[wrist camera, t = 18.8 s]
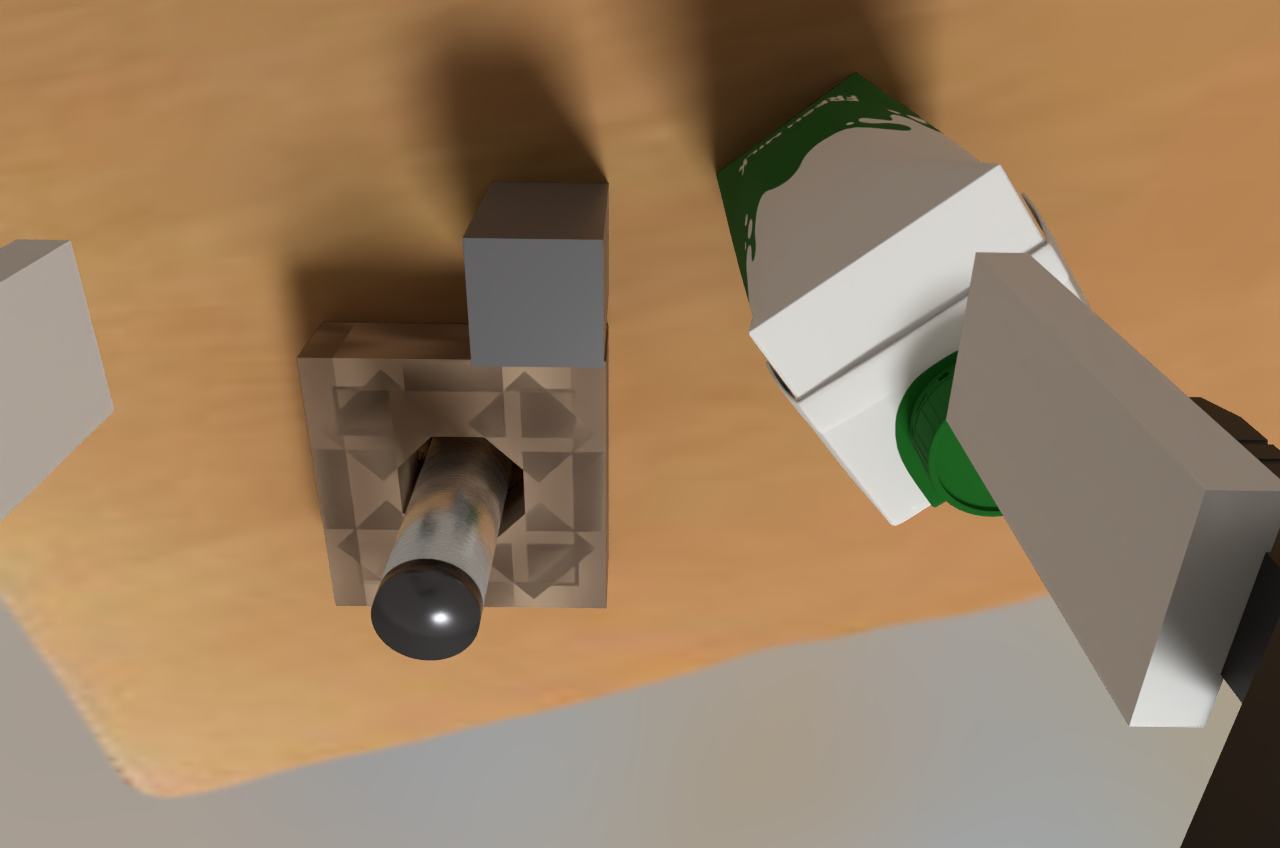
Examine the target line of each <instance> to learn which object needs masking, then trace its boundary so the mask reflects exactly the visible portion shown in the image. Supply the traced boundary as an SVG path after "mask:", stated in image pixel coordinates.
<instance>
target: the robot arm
mask: <svg viewBox="0 0 1280 848" xmlns="http://www.w3.org/2000/svg"><path fill="white" fill-rule="evenodd" d="M113 411H114V408H113V404H112V400H111V396H110V392H109V388H108V384H107V380H106V376H105V373H104V369H103V365H102V361H101V357H100V353H99V349H98V345H97V341H96V338H95V334H94V330H93V326H92V322H91V318H90V314H89V310H88V306H87V303H86V299H85V295H84V291H83V287H82V283H81V279H80V275H79V271H78V268H77V264H76V260H75V256H74V252H73V248H72V244H71V240H15V241H13V242H12V243H10V244H8V245H6V246H4V247H3V248H1V249H0V522H1V521H2V520H3V519H4V518H5V517H6V516H7V515H8V514H9V513H10V512H11V511H12V510H13V509H14V508H15V507H16V506H17V505H18V504H19V503H20V502H21V501H22V500H23V499H24V498H25V497H26V496H27V495H28V494H29V493H30V492H31V491H32V490H33V489H35V488H36V487H37V486H38V485H39V484H40V483H41V482H42V481H43V480H44V479H45V478H46V477H47V476H48V475H49V474H50V473H51V472H52V471H53V470H54V469H55V468H56V467H57V466H58V465H59V464H60V463H61V462H62V461H63V460H64V459H65V458H66V457H67V456H68V455H69V454H70V453H71V452H72V451H73V450H74V449H75V448H76V447H77V446H78V445H79V444H80V443H81V442H83V441H84V440H85V439H86V438H87V437H88V436H89V435H90V434H91V433H92V432H93V431H94V430H95V429H96V428H97V427H98V426H99V425H100V424H101V423H102V422H103V421H104V420H105V419H106V418H107V417H108V416H109V415H110V414H111V413H112V412H113ZM946 421H947V422H948V424H949V426H950V428H951V429H952V431H953V433H954V434H955V436H956V438H957V439H958V441H959V443H960V444H961V446H962V448H963V449H964V451H965V453H966V454H967V456H968V458H969V459H970V461H971V463H972V464H973V466H974V468H975V469H976V471H977V473H978V474H979V476H980V478H981V479H982V481H983V483H984V484H985V486H986V488H987V489H988V491H989V493H990V494H991V496H992V498H993V499H994V501H995V503H996V505H997V506H998V508H999V510H1000V511H1001V513H1002V515H1003V516H1004V518H1005V520H1006V521H1007V523H1008V525H1009V526H1010V528H1011V530H1012V531H1013V533H1014V535H1015V536H1016V538H1017V540H1018V541H1019V543H1020V545H1021V546H1022V548H1023V550H1024V551H1025V553H1026V555H1027V556H1028V558H1029V560H1030V561H1031V563H1032V565H1033V566H1034V568H1035V570H1036V571H1037V573H1038V575H1039V576H1040V578H1041V580H1042V581H1043V583H1044V585H1045V587H1046V588H1047V590H1048V592H1049V593H1050V595H1051V597H1052V598H1053V600H1054V602H1055V603H1056V605H1057V606H1058V608H1059V610H1060V611H1061V613H1062V615H1063V617H1064V618H1065V620H1066V622H1067V623H1068V625H1069V627H1070V628H1071V630H1072V632H1073V633H1074V635H1075V637H1076V638H1077V640H1078V642H1079V643H1080V645H1081V647H1082V648H1083V650H1084V652H1085V653H1086V655H1087V657H1088V658H1089V660H1090V662H1091V663H1092V665H1093V667H1094V668H1095V670H1096V672H1097V673H1098V675H1099V677H1100V678H1101V680H1102V682H1103V684H1104V685H1105V687H1106V689H1107V690H1108V692H1109V694H1110V695H1111V697H1112V699H1113V700H1114V702H1115V704H1116V705H1117V707H1118V709H1119V710H1120V712H1121V714H1122V715H1123V717H1124V719H1125V720H1126V722H1127V724H1128V725H1129V726H1139V727H1142V726H1143V727H1144V726H1145V727H1205V726H1206V724H1207V721H1208V718H1209V716H1210V713H1211V710H1212V708H1213V705H1214V702H1215V700H1216V697H1217V694H1218V692H1219V689H1220V686H1221V684H1222V681H1223V678H1224V680H1225V681H1226V682H1227V684H1228V685H1229V686H1230V687H1231V689H1232V690H1233V691H1234V693H1235V694H1236V696H1237V697H1238V698H1239V699H1240V701H1241V702H1242V705H1241V708H1240V710H1239V712H1238V715H1237V717H1236V719H1235V722H1234V724H1233V726H1232V729H1231V731H1230V733H1229V736H1228V738H1227V741H1226V743H1225V745H1224V747H1223V750H1222V752H1221V754H1220V757H1219V759H1218V761H1217V763H1216V766H1215V768H1214V770H1213V773H1212V775H1211V777H1210V780H1209V782H1208V784H1207V787H1206V789H1205V791H1204V794H1203V796H1202V798H1201V801H1200V803H1199V805H1198V808H1197V810H1196V812H1195V815H1194V817H1193V819H1192V822H1191V824H1190V826H1189V828H1188V831H1187V833H1186V836H1185V838H1184V840H1183V842H1182V845H1181V847H1180V848H1280V450H1279V449H1278V448H1276V447H1275V446H1274V445H1268V443H1267V442H1268V440H1267V439H1266V438H1265V437H1263V436H1262V435H1261V434H1260V433H1259V432H1258V431H1256V430H1255V429H1254V428H1253V427H1252V426H1251V425H1249V424H1248V423H1247V422H1246V421H1245V420H1244V419H1242V418H1241V417H1239V416H1237V415H1235V414H1233V413H1231V412H1229V411H1227V410H1225V409H1223V408H1221V407H1219V406H1217V405H1215V404H1213V403H1211V402H1209V401H1207V400H1205V399H1203V398H1201V397H1188V396H1187V395H1186V394H1184V393H1183V392H1182V391H1181V390H1180V389H1179V388H1178V387H1177V386H1176V385H1174V384H1173V383H1172V382H1171V381H1170V380H1169V379H1168V378H1167V377H1166V376H1164V375H1163V374H1162V373H1161V372H1160V371H1159V370H1158V369H1157V368H1156V367H1154V366H1153V365H1152V364H1151V363H1150V362H1149V361H1148V360H1147V359H1146V358H1144V357H1143V356H1142V355H1141V354H1140V353H1139V352H1138V351H1137V350H1136V349H1134V348H1133V347H1132V346H1131V345H1130V344H1129V343H1128V342H1127V341H1125V340H1124V339H1123V338H1122V337H1121V336H1120V335H1119V334H1118V333H1117V332H1115V331H1114V330H1113V329H1112V328H1111V327H1110V326H1109V325H1108V324H1107V323H1105V322H1104V321H1103V320H1102V319H1101V318H1100V317H1099V316H1098V315H1097V314H1095V313H1094V312H1093V311H1092V310H1091V309H1090V308H1089V307H1088V306H1087V305H1085V304H1084V303H1083V302H1082V301H1081V300H1080V299H1079V298H1078V297H1077V296H1075V295H1074V294H1073V293H1072V292H1071V291H1070V290H1069V289H1068V288H1067V287H1065V286H1064V285H1063V284H1062V283H1061V282H1060V281H1059V280H1058V279H1056V278H1055V277H1054V276H1053V275H1052V274H1051V273H1050V272H1049V271H1048V270H1046V269H1045V268H1044V267H1043V266H1042V265H1041V264H1040V263H1039V262H1038V261H1036V260H1035V259H1034V258H1033V257H1032V256H1031V255H1030V254H1029V253H997V252H976V254H975V259H974V265H973V270H972V276H971V282H970V287H969V293H968V299H967V304H966V310H965V316H964V321H963V327H962V333H961V338H960V344H959V349H958V355H957V361H956V366H955V372H954V378H953V383H952V389H951V395H950V400H949V406H948V412H947V417H946Z"/></svg>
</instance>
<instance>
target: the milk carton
mask: <svg viewBox="0 0 1280 848" xmlns="http://www.w3.org/2000/svg"><path fill="white" fill-rule="evenodd" d="M716 176H717V180H718V184H719V188H720V192H721V196H722V200H723V204H724V208H725V212H726V217H727V221H728V225H729V229H730V233H731V237H732V241H733V245H734V249H735V253H736V257H737V261H738V265H739V269H740V272H741V276H742V279H743V283H744V286H745V290H746V294H747V297H748V301H749V304H750V308H751V311H752V315H753V318H752V321H751V325H750V329H749V335H750V336H751V338H752V339H753V341H754V342H755V343H756V345H757V346H758V347H759V349H760V350H761V351H762V353H763V354H764V355H765V357H766V358H767V359H768V361H769V362H770V363H771V365H772V366H773V367H774V369H775V370H776V371H777V373H778V374H779V375H780V377H781V378H782V379H783V381H784V382H785V383H786V385H787V386H788V387H789V389H790V390H791V391H792V393H793V394H794V395H795V397H796V398H797V399H798V401H797V400H796V399H795V397H794V396H793V394H792V393H791V391H790V390H789V389H788V387H787V386H786V385H785V383H784V382H783V381H782V379H781V378H780V377H779V375H778V374H777V373H776V371H775V370H774V369H773V367H772V366H771V365H770V364H769V362H768V361H766V364H767V367H768V369H769V371H770V373H771V375H772V376H773V378H774V379H775V381H776V382H777V384H778V385H779V387H780V388H781V390H782V391H783V392H784V394H785V395H786V397H787V398H788V399H789V400H790V402H791V403H792V404H793V406H794V407H795V408H796V409H797V411H798V412H799V413H800V415H801V416H802V417H803V418H804V419H805V420H806V421H807V422H808V423H809V425H810V426H811V427H812V429H813V430H814V431H815V432H816V434H817V435H818V436H819V438H820V439H821V440H822V441H823V443H824V444H825V445H826V447H827V448H828V449H829V450H830V452H831V453H832V454H833V456H834V457H835V458H836V459H837V461H838V462H839V463H840V464H841V466H842V467H843V468H844V469H845V471H846V472H847V473H848V474H849V476H850V477H851V478H852V479H853V480H854V482H855V483H856V484H857V485H858V486H859V487H860V489H861V490H862V491H863V492H864V493H865V494H866V496H867V497H868V498H869V499H870V500H871V502H872V503H873V504H874V505H875V506H876V507H877V509H878V510H879V511H880V512H881V513H882V514H883V516H884V517H885V518H886V519H887V520H888V521H889V523H890V524H891V525H894V526H895V525H898V524H900V523H902V522H904V521H906V520H907V519H909V518H911V517H912V516H914V515H915V514H917V513H919V512H920V511H922V510H923V509H925V508H926V507H928V506H930V505H932V506H933V507H937V506H939V505H940V504H942V503H944V502H946V501H947V502H948V503H949V504H950V505H952V506H954V507H955V508H957V509H959V510H961V511H964V512H967V513H970V514H974V515H979V516H988V517H995V516H1003V515H1002V513H1001V511H1000V510H999V508H998V506H997V505H996V503H995V501H994V499H993V498H992V496H991V494H990V493H989V491H988V489H987V488H986V486H985V484H984V483H983V481H982V479H981V478H980V476H979V474H978V473H977V471H976V469H975V468H974V466H973V464H972V463H971V461H970V459H969V458H968V456H967V454H966V453H965V451H964V449H963V448H962V446H961V444H960V443H959V441H958V439H957V438H956V436H955V434H954V433H953V431H952V429H951V428H950V426H949V424H948V422H947V421H946V417H947V412H948V406H949V400H950V395H951V389H952V383H953V378H954V372H955V366H956V361H957V355H958V349H959V344H960V338H961V333H962V327H963V321H964V316H965V310H966V304H967V299H968V293H969V287H970V282H971V276H972V270H973V265H974V259H975V254H976V252H997V253H1029V254H1030V255H1031V256H1032V257H1033V258H1034V259H1035V260H1036V261H1038V262H1039V263H1040V264H1041V265H1042V266H1043V267H1044V268H1045V269H1046V270H1048V271H1049V272H1050V273H1051V274H1052V275H1053V276H1054V277H1055V278H1056V279H1058V280H1059V281H1060V282H1061V283H1062V284H1063V285H1064V286H1065V287H1067V288H1068V289H1069V290H1070V291H1071V292H1072V293H1073V294H1074V295H1075V296H1077V297H1078V298H1079V299H1080V300H1081V301H1082V302H1083V303H1084V304H1085V305H1087V306H1088V307H1089V308H1090V309H1091V307H1090V305H1089V303H1088V301H1087V299H1086V298H1085V296H1084V294H1083V292H1082V290H1081V289H1080V287H1079V285H1078V283H1077V282H1076V280H1075V278H1074V276H1073V274H1072V273H1071V271H1070V269H1069V267H1068V265H1067V264H1066V262H1065V260H1064V258H1063V256H1062V254H1061V252H1060V250H1059V248H1058V246H1057V243H1056V241H1055V239H1054V238H1053V236H1052V234H1051V232H1050V230H1049V229H1048V227H1047V225H1046V223H1045V222H1044V220H1043V218H1042V217H1041V215H1040V213H1039V212H1038V210H1037V209H1036V207H1035V206H1034V204H1033V203H1032V202H1031V200H1030V199H1029V198H1028V197H1027V196H1026V195H1025V194H1024V193H1021V195H1022V196H1023V198H1024V200H1025V202H1026V203H1027V205H1028V207H1029V209H1030V210H1031V212H1032V214H1033V216H1034V217H1035V219H1036V221H1037V223H1038V224H1039V226H1040V228H1041V230H1042V231H1043V233H1044V235H1045V238H1046V241H1047V243H1046V242H1045V240H1044V238H1043V236H1042V235H1041V233H1040V231H1039V229H1038V228H1037V226H1036V224H1035V223H1034V221H1033V219H1032V217H1031V216H1030V214H1029V212H1028V210H1027V209H1026V207H1025V205H1024V204H1023V202H1022V200H1021V198H1020V197H1019V195H1018V193H1017V191H1016V190H1015V188H1014V186H1013V185H1012V183H1011V181H1010V179H1009V178H1008V176H1007V174H1006V173H1005V171H1004V169H1003V168H1002V166H1001V165H1000V164H994V163H981V162H980V161H979V160H977V159H976V158H975V157H973V156H972V155H971V154H969V153H968V152H967V151H965V150H964V149H963V148H961V147H960V146H959V145H957V144H956V143H955V142H953V141H952V140H951V139H949V138H948V137H947V136H945V135H944V134H943V133H941V132H940V131H939V130H937V129H936V128H934V127H933V126H932V125H930V124H929V123H927V122H926V121H924V120H923V119H922V118H920V117H919V116H918V115H916V114H915V113H913V112H912V111H911V110H909V109H908V108H906V107H905V106H904V105H902V104H901V103H899V102H898V101H896V100H895V99H893V98H892V97H891V96H889V95H888V94H886V93H885V92H883V91H882V90H880V89H879V88H877V87H876V86H875V85H873V84H872V83H870V82H869V81H867V80H866V79H865V78H863V77H862V76H861V75H859V74H858V73H857V72H855V73H853V74H852V75H851V76H849V77H848V78H846V79H845V80H844V81H842V82H841V83H840V84H838V85H837V86H836V87H834V88H833V89H831V90H830V91H829V92H827V93H826V94H825V95H823V96H822V97H821V98H819V99H818V100H816V101H815V102H814V103H812V104H811V105H810V106H808V107H807V108H805V109H804V110H803V111H801V112H800V113H799V114H797V115H796V116H795V117H793V118H792V119H790V120H789V121H788V122H786V123H785V124H784V125H782V126H781V127H780V128H778V129H777V130H775V131H774V132H773V133H771V134H770V135H769V136H767V137H766V138H765V139H763V140H762V141H760V142H759V143H758V144H756V145H755V146H754V147H752V148H751V149H750V150H748V151H747V152H745V153H744V154H743V155H741V156H740V157H739V158H737V159H736V160H734V161H733V162H732V163H730V164H729V165H728V166H726V167H725V168H724V169H722V170H721V171H719V172H718V173H717V174H716ZM1091 310H1092V309H1091Z"/></svg>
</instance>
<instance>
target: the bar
mask: <svg viewBox="0 0 1280 848" xmlns="http://www.w3.org/2000/svg"><path fill="white" fill-rule="evenodd" d="M463 250H464V265H465V279H466V293H467V308H468V322H469V337H470V351H471V365H472V366H493V367H576V368H604V353H605V339H606V324H607V309H608V295H609V183H542V182H491V183H490V185H489V187H488V189H487V191H486V193H485V195H484V197H483V199H482V201H481V203H480V205H479V207H478V209H477V211H476V213H475V215H474V217H473V219H472V221H471V223H470V225H469V227H468V229H467V230H466V232H465V234H464V236H463Z"/></svg>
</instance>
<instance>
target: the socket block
mask: <svg viewBox="0 0 1280 848" xmlns="http://www.w3.org/2000/svg"><path fill="white" fill-rule="evenodd" d="M297 363H298V370H299V376H300V382H301V389H302V395H303V401H304V408H305V414H306V420H307V427H308V433H309V439H310V446H311V452H312V458H313V465H314V471H315V477H316V484H317V490H318V496H319V503H320V509H321V515H322V522H323V528H324V534H325V541H326V547H327V553H328V560H329V566H330V572H331V579H332V585H333V591H334V598H335V604H336V606H372V604H373V601H374V598H375V595H376V593H377V590H378V587H379V584H380V582H381V579H382V576H383V573H384V571H385V568H386V565H387V562H388V560H389V557H390V554H391V551H392V549H393V546H394V543H395V540H396V538H397V535H398V532H399V529H400V527H401V524H402V521H403V518H404V516H405V513H406V510H407V507H408V505H409V502H410V499H411V496H412V494H413V491H414V488H415V485H416V483H417V480H418V477H419V474H420V472H421V470H420V469H419V462H418V452H417V450H418V449H419V448H420V447H421V446H422V445H423V444H424V443H425V442H426V441H427V440H428V439H429V438H430V437H485V438H486V439H487V440H488V441H489V442H491V443H492V444H493V445H494V446H495V447H497V448H498V449H499V450H500V451H501V452H503V453H504V454H505V455H506V456H507V457H508V458H510V459H511V460H512V461H513V462H514V463H516V464H517V465H518V466H519V467H520V468H522V469H523V475H524V478H523V479H522V480H521V481H520V482H519V483H518V484H516V485H515V486H514V487H513V488H512V489H511V490H510V491H508V492H507V493H506V498H505V503H504V508H503V513H502V518H501V522H500V527H499V532H498V537H497V542H496V547H495V552H494V557H493V561H492V566H491V571H490V576H489V581H488V586H487V591H486V595H485V600H484V605H483V607H530V608H606V606H607V582H608V326H606V339H605V353H604V368H576V367H493V366H472V365H471V351H470V337H469V324H439V323H359V322H323V323H322V324H321V325H320V327H319V328H318V329H317V331H316V332H315V334H314V335H313V336H312V338H311V339H310V340H309V342H308V343H307V344H306V346H305V347H304V348H303V350H302V351H301V352H300V354H299V355H298V356H297Z"/></svg>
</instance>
